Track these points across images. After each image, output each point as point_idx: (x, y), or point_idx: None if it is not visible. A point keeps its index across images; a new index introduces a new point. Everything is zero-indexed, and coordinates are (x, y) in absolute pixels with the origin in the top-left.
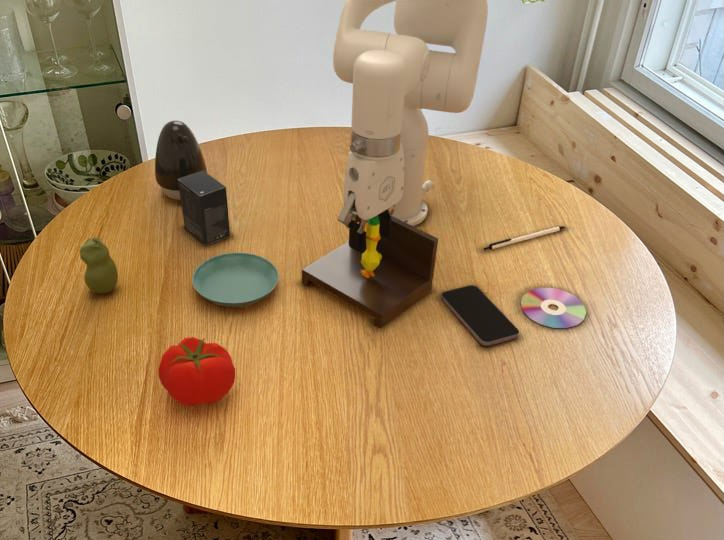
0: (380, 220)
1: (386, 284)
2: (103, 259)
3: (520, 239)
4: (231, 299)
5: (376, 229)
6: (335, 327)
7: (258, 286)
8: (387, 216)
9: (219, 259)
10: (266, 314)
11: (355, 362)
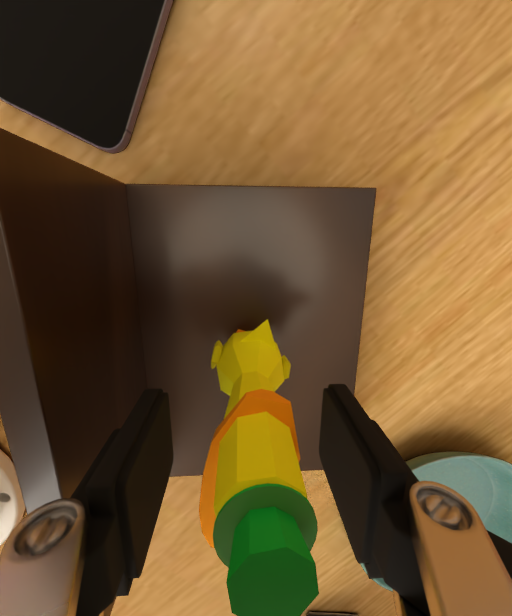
0: (146, 500)
1: (244, 276)
2: None
3: None
4: (470, 486)
5: (273, 453)
6: (413, 284)
7: None
8: (105, 507)
9: None
10: (459, 414)
11: (496, 157)
